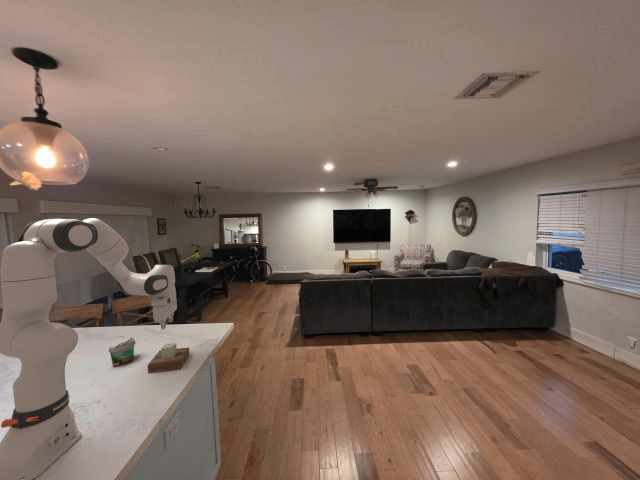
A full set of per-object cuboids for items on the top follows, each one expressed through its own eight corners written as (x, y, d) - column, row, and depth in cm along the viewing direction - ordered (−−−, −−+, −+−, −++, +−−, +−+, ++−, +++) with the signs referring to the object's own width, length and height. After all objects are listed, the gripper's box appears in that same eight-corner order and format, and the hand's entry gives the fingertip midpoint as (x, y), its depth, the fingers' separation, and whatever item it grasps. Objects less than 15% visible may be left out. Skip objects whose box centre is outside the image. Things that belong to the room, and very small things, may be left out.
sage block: (173, 357, 128) (172, 347, 128) (161, 359, 127) (161, 348, 127) (176, 352, 133) (176, 343, 133) (165, 353, 132) (165, 344, 132)
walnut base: (181, 369, 125) (180, 361, 125) (148, 373, 122) (147, 365, 122) (189, 354, 139) (189, 347, 138) (159, 358, 136) (159, 350, 136)
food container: (120, 369, 126) (118, 349, 126) (109, 368, 127) (108, 348, 127) (142, 356, 138) (141, 337, 138) (132, 355, 139) (131, 337, 139)
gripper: (166, 292, 138) (167, 318, 138) (149, 303, 118) (151, 334, 118) (179, 291, 139) (181, 317, 140) (165, 302, 119) (166, 332, 120)
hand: (167, 325), depth 129 cm, fingers open, 8 cm apart
